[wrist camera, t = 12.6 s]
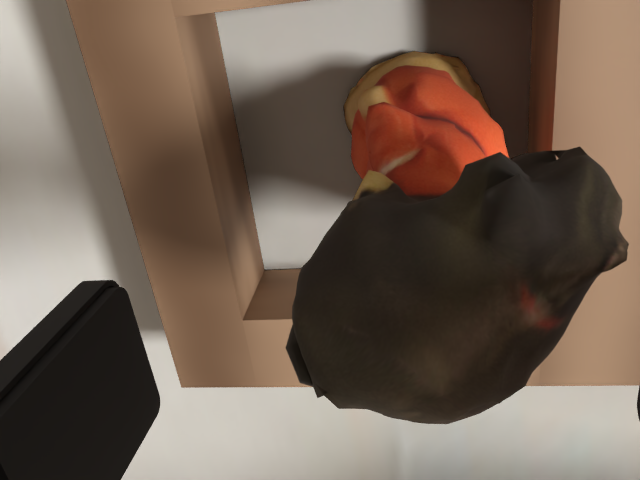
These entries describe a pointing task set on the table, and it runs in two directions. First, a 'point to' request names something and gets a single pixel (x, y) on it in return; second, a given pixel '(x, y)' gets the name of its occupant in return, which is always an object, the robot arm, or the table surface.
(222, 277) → the jig
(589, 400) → the table surface
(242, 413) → the table surface
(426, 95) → the figurine
